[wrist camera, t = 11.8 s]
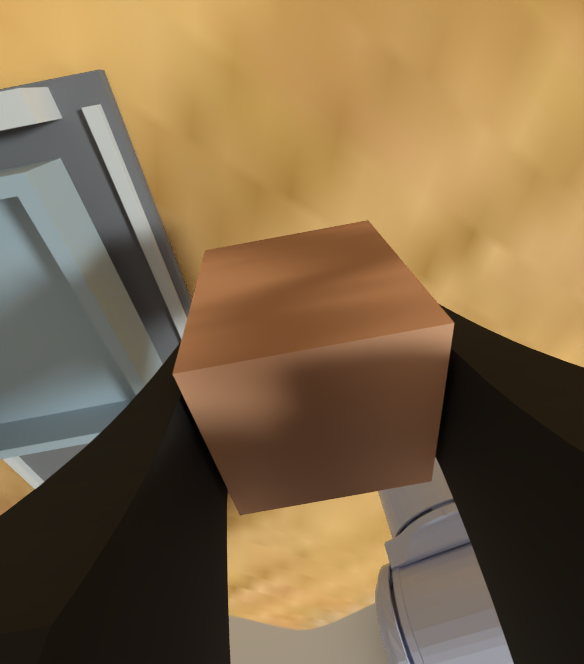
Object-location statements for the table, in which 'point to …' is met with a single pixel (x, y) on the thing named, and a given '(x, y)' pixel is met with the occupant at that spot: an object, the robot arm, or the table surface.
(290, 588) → the table surface
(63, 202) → the light blue storage bin
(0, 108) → the track
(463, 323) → the robot arm
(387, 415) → the block
